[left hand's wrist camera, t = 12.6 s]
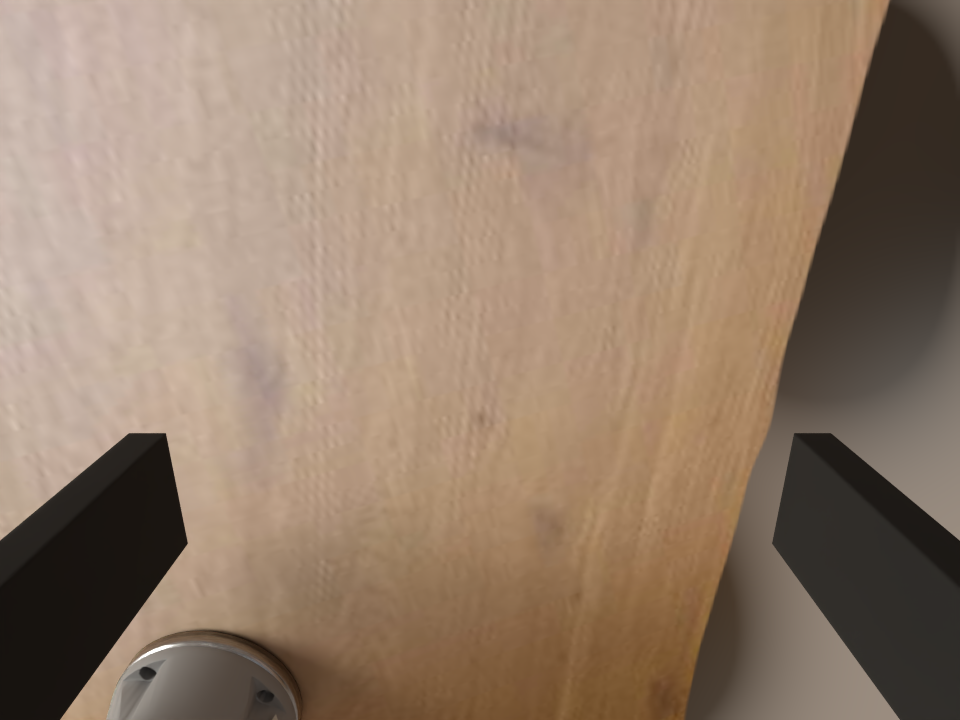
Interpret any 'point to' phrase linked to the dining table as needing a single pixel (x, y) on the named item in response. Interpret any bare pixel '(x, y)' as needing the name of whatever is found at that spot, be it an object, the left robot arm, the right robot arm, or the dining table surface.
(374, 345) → the dining table surface
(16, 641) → the left robot arm
